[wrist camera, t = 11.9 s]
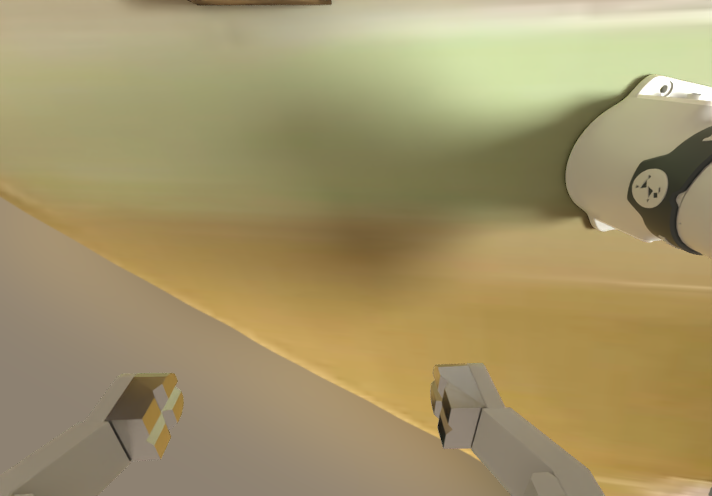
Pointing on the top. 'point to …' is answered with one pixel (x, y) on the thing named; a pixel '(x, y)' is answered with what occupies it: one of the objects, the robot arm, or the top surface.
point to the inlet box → (260, 2)
